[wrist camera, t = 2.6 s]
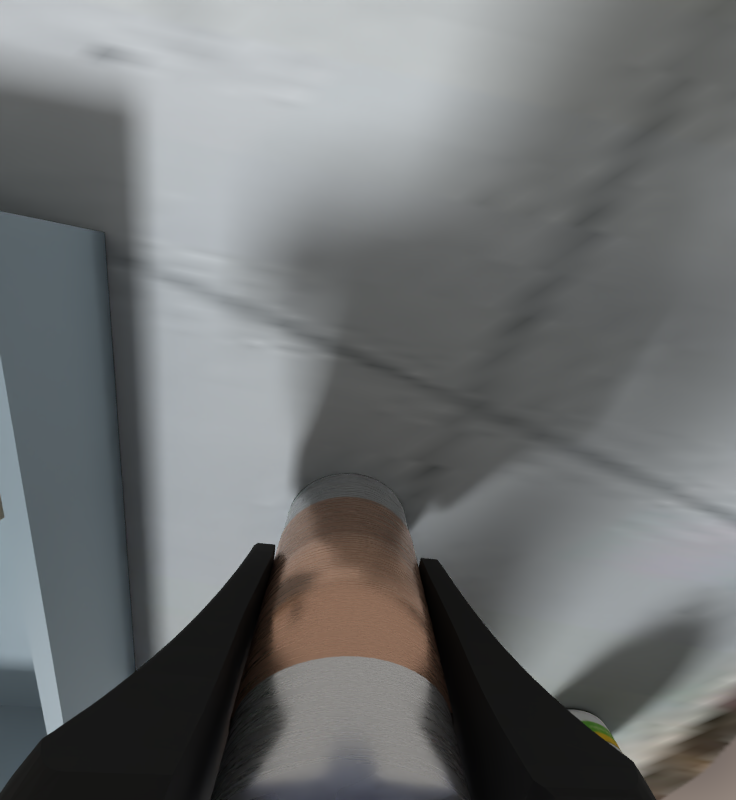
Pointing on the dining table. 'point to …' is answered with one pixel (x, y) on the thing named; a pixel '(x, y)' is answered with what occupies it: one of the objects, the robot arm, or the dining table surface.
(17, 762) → the tote
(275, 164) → the dining table surface
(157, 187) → the dining table surface
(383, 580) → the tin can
